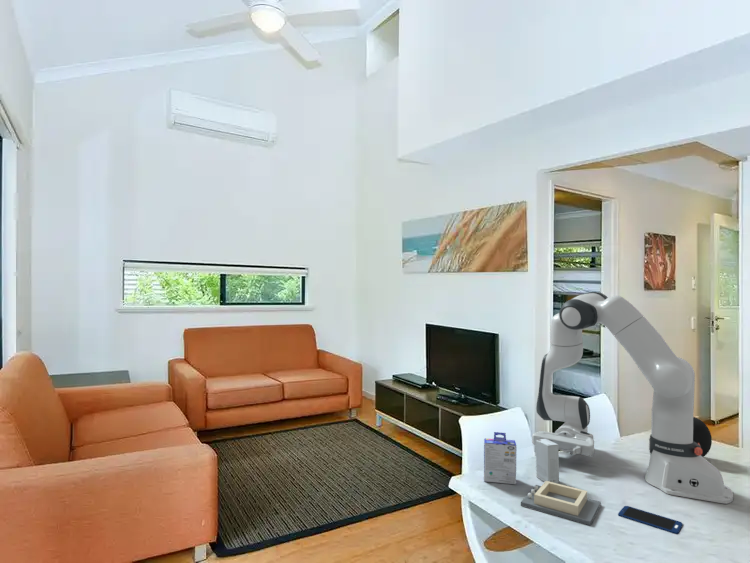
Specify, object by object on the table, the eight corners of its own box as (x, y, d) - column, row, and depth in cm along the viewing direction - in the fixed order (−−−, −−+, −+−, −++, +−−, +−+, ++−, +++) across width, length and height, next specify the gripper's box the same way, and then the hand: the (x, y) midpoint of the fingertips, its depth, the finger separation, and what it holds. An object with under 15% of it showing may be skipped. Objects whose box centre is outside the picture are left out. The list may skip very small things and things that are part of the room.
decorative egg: (662, 455, 172) (662, 414, 172) (683, 450, 177) (684, 410, 177) (697, 467, 160) (698, 423, 161) (719, 462, 166) (719, 419, 166)
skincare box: (559, 483, 146) (560, 444, 146) (548, 485, 145) (548, 445, 145) (546, 475, 152) (546, 438, 152) (534, 477, 150) (535, 439, 150)
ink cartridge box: (515, 477, 150) (515, 432, 150) (516, 485, 144) (517, 438, 144) (483, 475, 152) (484, 430, 152) (483, 482, 146) (484, 435, 146)
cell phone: (677, 536, 117) (677, 533, 117) (617, 517, 126) (617, 514, 126) (683, 525, 122) (683, 522, 122) (624, 507, 132) (624, 504, 132)
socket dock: (600, 505, 132) (601, 492, 132) (590, 525, 121) (590, 511, 121) (536, 488, 142) (536, 476, 142) (520, 505, 131) (520, 492, 131)
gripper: (538, 424, 175) (526, 433, 164) (598, 435, 163) (589, 446, 152) (538, 441, 175) (526, 451, 164) (597, 453, 163) (589, 465, 152)
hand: (557, 449), depth 158 cm, fingers open, 8 cm apart
